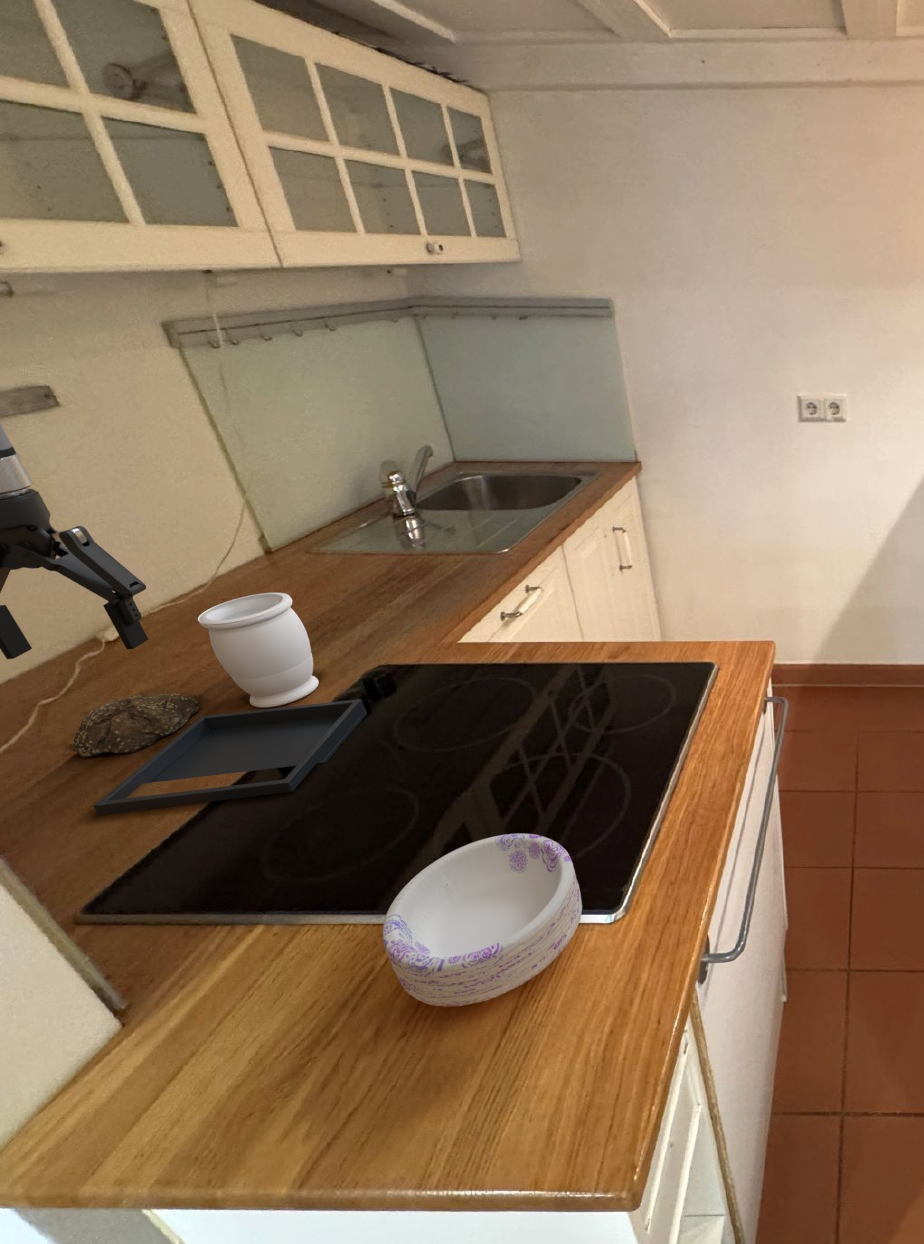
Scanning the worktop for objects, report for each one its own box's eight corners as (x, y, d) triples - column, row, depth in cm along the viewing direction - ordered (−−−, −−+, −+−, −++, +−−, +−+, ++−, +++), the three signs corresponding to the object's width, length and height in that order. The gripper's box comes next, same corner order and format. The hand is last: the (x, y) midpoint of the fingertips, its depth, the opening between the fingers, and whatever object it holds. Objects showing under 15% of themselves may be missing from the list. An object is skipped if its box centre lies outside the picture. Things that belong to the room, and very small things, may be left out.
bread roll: (104, 718, 102) (87, 690, 100) (209, 699, 106) (194, 671, 104) (53, 770, 91) (32, 739, 89) (171, 746, 95) (154, 716, 93)
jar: (254, 721, 100) (208, 630, 94) (233, 698, 106) (188, 610, 99) (338, 688, 108) (301, 602, 101) (314, 669, 113) (278, 585, 107)
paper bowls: (608, 883, 72) (593, 825, 68) (555, 1026, 58) (533, 963, 55) (460, 891, 71) (437, 833, 68) (371, 1037, 58) (337, 974, 54)
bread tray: (104, 822, 82) (92, 805, 81) (209, 730, 98) (201, 715, 97) (296, 799, 85) (287, 782, 84) (367, 713, 101) (361, 698, 100)
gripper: (133, 480, 88) (204, 628, 97) (-101, 491, 84) (-4, 644, 94) (84, 497, 81) (165, 654, 91) (-173, 510, 78) (-61, 672, 87)
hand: (79, 649), depth 92 cm, fingers open, 13 cm apart
